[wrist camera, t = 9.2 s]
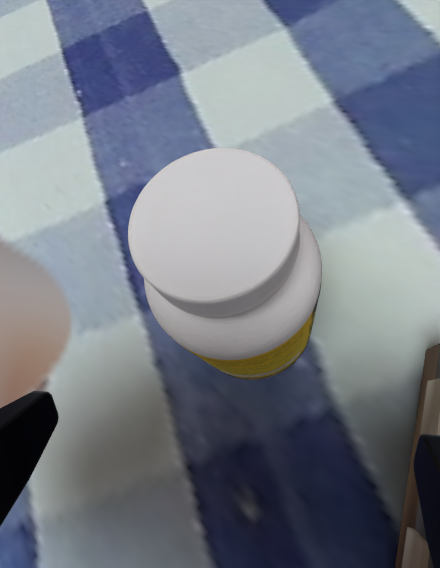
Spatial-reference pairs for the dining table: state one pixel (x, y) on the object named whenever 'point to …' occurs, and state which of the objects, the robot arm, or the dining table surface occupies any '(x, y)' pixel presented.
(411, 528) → the rail
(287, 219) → the supplement bottle
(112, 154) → the dining table surface
